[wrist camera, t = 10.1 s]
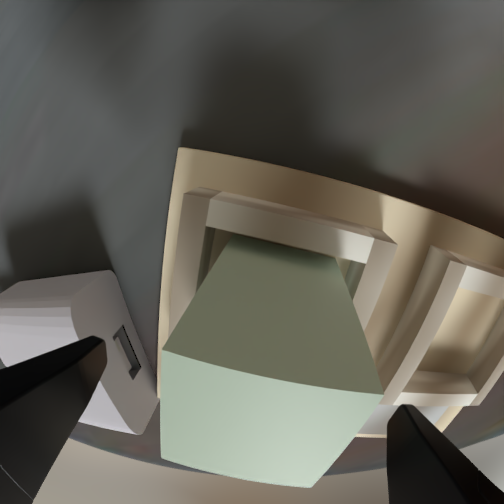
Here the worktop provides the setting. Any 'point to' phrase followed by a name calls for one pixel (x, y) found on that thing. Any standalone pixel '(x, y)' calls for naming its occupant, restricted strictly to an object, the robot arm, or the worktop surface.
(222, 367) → the plug
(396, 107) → the worktop surface
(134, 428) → the charger
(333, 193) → the socket board
